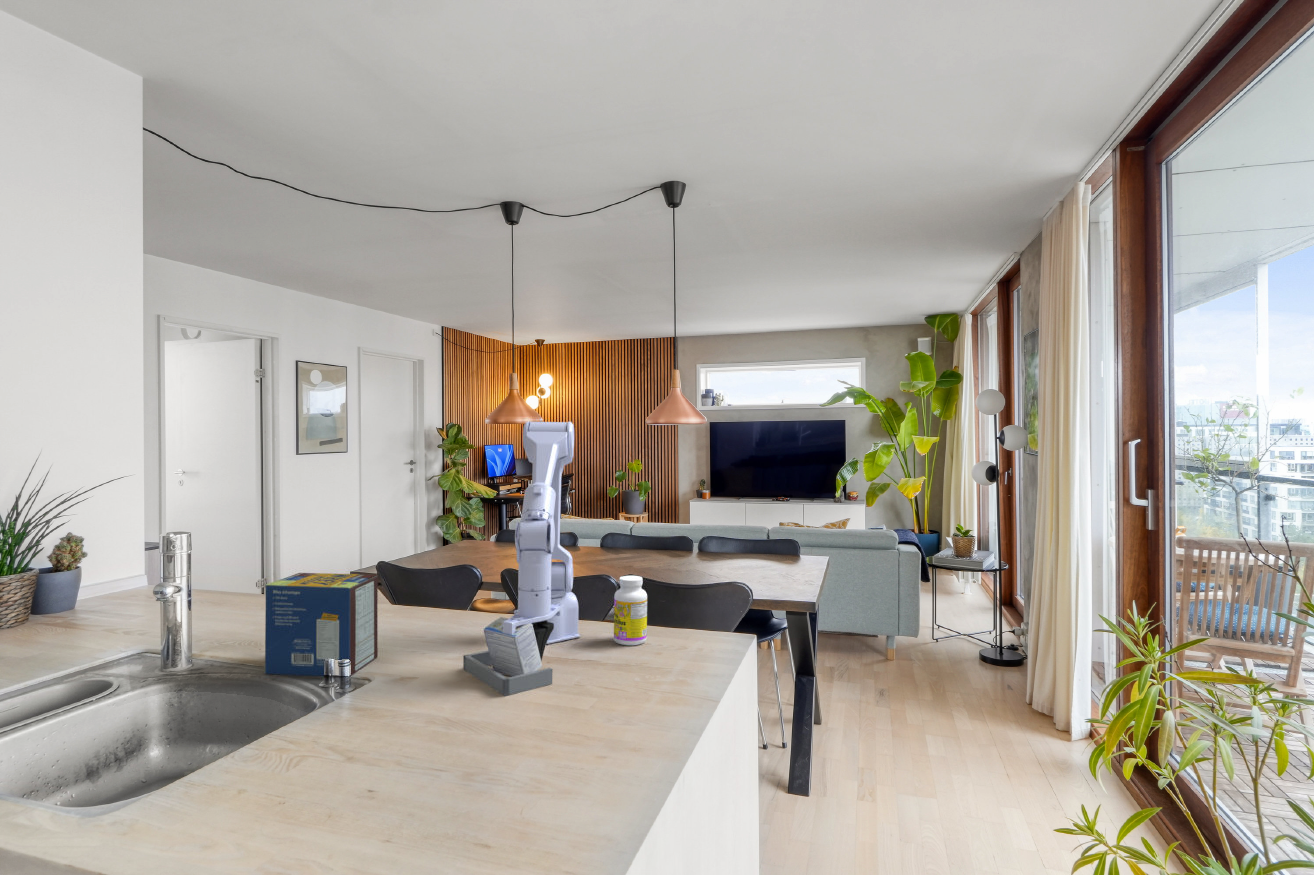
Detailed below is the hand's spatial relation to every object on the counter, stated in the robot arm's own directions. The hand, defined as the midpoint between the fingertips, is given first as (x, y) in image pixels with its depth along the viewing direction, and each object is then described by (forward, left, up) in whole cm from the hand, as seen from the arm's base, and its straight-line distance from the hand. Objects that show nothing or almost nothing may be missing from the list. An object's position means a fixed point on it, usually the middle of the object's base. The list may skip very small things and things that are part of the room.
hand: (534, 664), depth 122 cm
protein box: (+28, -25, -1) cm, 38 cm away
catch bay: (+5, 0, -1) cm, 5 cm away
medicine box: (+3, 0, 0) cm, 3 cm away
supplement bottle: (-24, -3, -1) cm, 24 cm away
